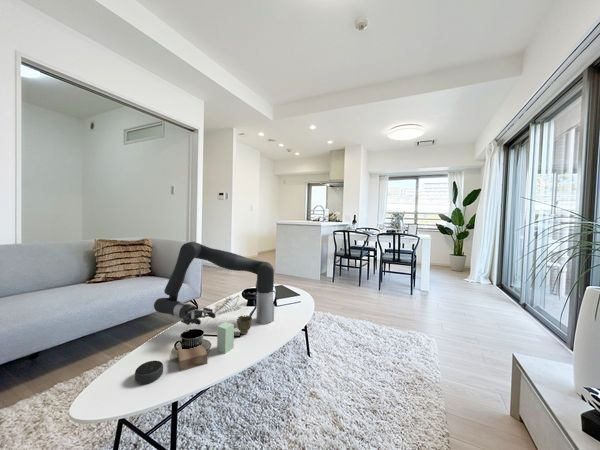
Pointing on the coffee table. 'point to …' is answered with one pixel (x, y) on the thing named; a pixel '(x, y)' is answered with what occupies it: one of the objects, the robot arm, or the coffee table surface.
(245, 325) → the cup
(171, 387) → the coffee table surface
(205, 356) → the walnut plinth
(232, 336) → the green block
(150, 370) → the smart speaker
